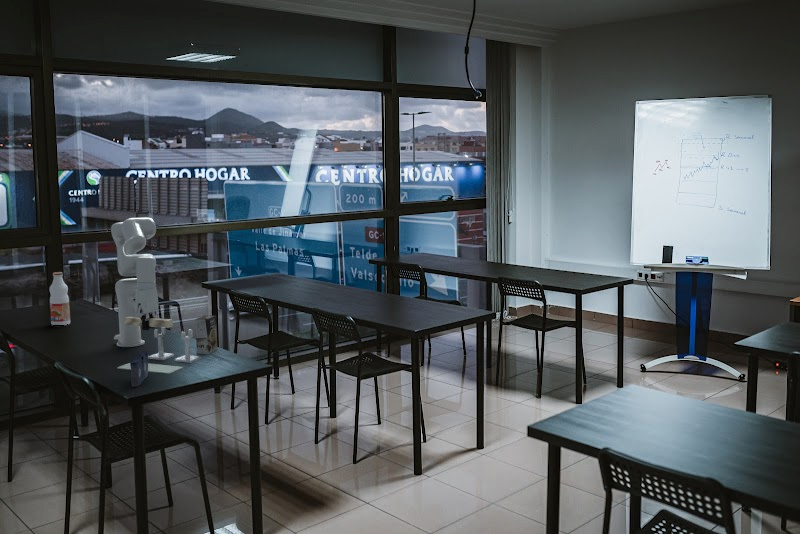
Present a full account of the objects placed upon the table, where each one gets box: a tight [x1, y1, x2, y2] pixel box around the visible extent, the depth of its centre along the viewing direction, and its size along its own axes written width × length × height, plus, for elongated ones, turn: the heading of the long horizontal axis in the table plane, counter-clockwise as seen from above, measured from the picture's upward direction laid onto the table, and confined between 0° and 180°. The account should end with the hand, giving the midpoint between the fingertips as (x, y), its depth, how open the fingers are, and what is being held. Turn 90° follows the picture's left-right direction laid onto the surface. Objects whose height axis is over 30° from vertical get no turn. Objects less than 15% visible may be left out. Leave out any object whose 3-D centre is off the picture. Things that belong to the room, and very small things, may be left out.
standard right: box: [174, 329, 202, 364], centre depth 350 cm, size 8×8×13 cm
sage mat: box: [116, 362, 184, 375], centre depth 338 cm, size 26×10×1 cm, turn 70°
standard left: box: [148, 327, 175, 361], centre depth 355 cm, size 8×8×13 cm
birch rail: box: [124, 317, 174, 329], centre depth 335 cm, size 22×3×3 cm, turn 70°
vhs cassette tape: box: [129, 350, 150, 388], centre depth 318 cm, size 18×3×10 cm, turn 3°
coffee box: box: [195, 315, 218, 355], centre depth 365 cm, size 9×6×16 cm
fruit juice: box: [49, 271, 71, 326], centre depth 425 cm, size 9×9×28 cm
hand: (148, 328), depth 335 cm, fingers closed on birch rail, 3 cm apart
